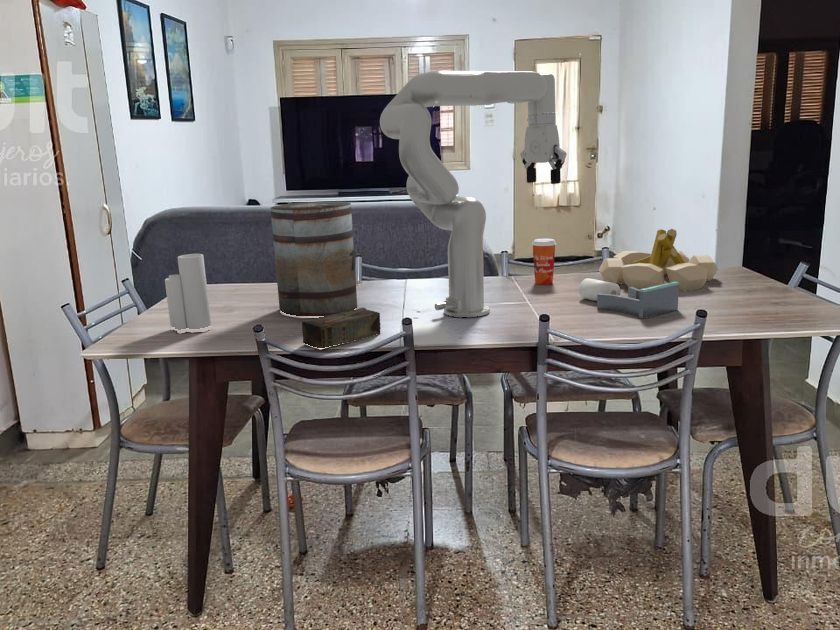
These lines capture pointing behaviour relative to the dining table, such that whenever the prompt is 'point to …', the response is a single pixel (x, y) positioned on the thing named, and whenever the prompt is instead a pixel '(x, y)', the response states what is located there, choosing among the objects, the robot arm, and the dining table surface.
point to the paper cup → (543, 260)
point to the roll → (597, 288)
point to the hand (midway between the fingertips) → (543, 182)
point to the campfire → (659, 266)
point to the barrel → (314, 258)
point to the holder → (643, 300)
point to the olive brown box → (341, 328)
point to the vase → (188, 294)
